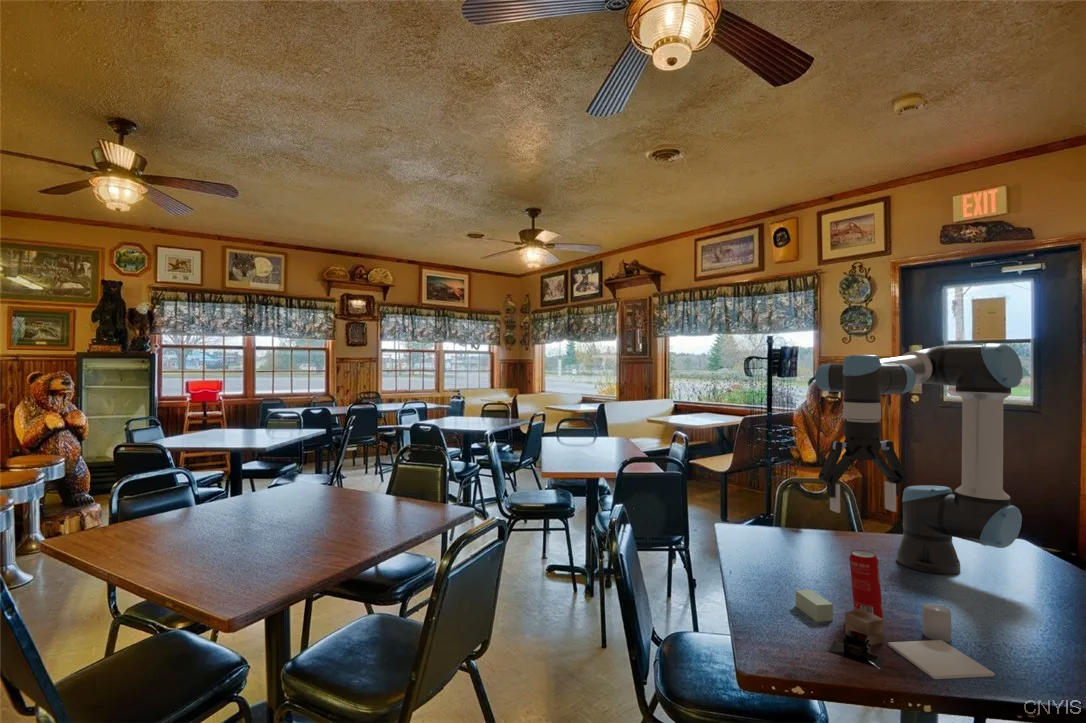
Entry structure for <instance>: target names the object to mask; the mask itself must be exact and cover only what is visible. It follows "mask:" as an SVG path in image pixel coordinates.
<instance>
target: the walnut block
mask: <svg viewBox="0 0 1086 723" xmlns="http://www.w3.org/2000/svg"><path fill="white" fill-rule="evenodd" d="M844 619H845V620H844V621H845V624H844V625H845V629H844V630H845V634H846V632H847V631H848V630H852V631H855V632H859V633H862V634H865V635H868V640H870V644H871V646H875V645H879V644H883V643H884V642H885V639H884V638H885V630H884V629H885V628H884V627H885V626H884V622H885V621H884V618H883V619H882V618H880V617H878V616H876V615H874V614H872V613H870V612H868V611H866V610H864V609H859V610H855V611H854V610H851V611H846V612H845V613H844Z"/></svg>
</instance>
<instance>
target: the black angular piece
mask: <svg viewBox="0 0 1086 723" xmlns="http://www.w3.org/2000/svg"><path fill="white" fill-rule="evenodd" d="M871 647H872V645H871V644H870V640H868V635H865V634H862V633H859V632H855V631H852V630H848V631H847V632H846V633H845V635H844V637H843V640H842V643H841V642H839V641H833V642H832V644H831V645H830V646H829V648H828V649H827V653H830V654H834V655H836V656H839V657H843V658H845V659H848V660H851V661H855V662H858V663H860V664H863V665H867V666H869V667H873V668H877V669H879V670H881V669H882V668H883V665H884V662H885V660H886V657H885V656H881V655H879V654H876V653H873V652H871Z"/></svg>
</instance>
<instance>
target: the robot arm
mask: <svg viewBox="0 0 1086 723" xmlns="http://www.w3.org/2000/svg"><path fill="white" fill-rule="evenodd" d="M1023 372H1024V371H1023V365H1022V361H1021V358H1020V357H1019V354H1018V353H1017V352H1016V350H1014V349H1013V347H1011V346H1010V345H1008V344H1004V343H990V342H988V343H987V342H986V343H974V344H971V343H970V344H953V345H952V344H949V345H948V344H946V345H939V346H932V347H928V348H927V347H926V348H924V349H918V350H911V351H908V352H905V353H903V354H902V355H901V356H900V355H899V356H894V357H893V356H892V357H884V358H880V356H879V355H877V354H856V355H855V354H852V355H851V354H849V355H845V357H844V358H843V363H833V362H831V363H826V364H825V363H823V364H821V365H820V366H818V368H817V369H816V370H815V373H814V374H815V375H814V377H815V379H814V380H815V384H816V386H817V388H818V389H820V390H821V391H824V392H830V393H834V392H835V393H843V418H844V419H846V420H844V421H843V435H844V441H838V440H832V441H831V442H830V450H829V452H828V454H827V456H826V459H825V461H824V463H823V465H822V468H821V469H820V471H819V474H818V475H817V476H818V477H817V478H818V479H819V480H820V481H824V482H825V483H826V496H827V497H829V510H830V511H832V512H834V513H837V514H838V513H839V514H841V485H840V483H838V482H839V480H840V479H841V477H843V476H844V474H845V473H846V471H847V470H848V469H849V468H850V467H851V465H852V464H854V463H855V462H856V461H858V462H859V461H861V462H863V461H865V460H866V461H872V462H873V463H874V464H875V466H876V467H877V468H878V469H879V471H880V472H881V473H882V474H883V476H884V477H885V478H886V480H885V481H884V508H885V510H888V511H890V512H895V513H896V512H897V497H898V496H899V495H900V494H899V490H900V489H899V485H901V484H903V481H907V480H908V475H907V474H906V471H905V469H904V467H903V465H902V464H901V461H900V459H899V457H898V455H897V453H896V451H895V446H894V442H893V441H892V440H887V439H882V440H880V438H881V437H882V423H880V420H881V419H882V404H881V395H897V396H898V395H900V394H906V393H908V392H910V391H911V390H912V389H913V388H914V387H915V385H919V384H927V385H929V384H930V385H931V384H932V385H938V386H949V387H950V386H954V387H955V393H956V394H957V395H958V396H959V397H960V398H961V401H962V407H961V408H962V410H961V412H962V413H961V416H962V417H961V424H962V425H961V427H962V428H961V432H962V433H961V485H960V486H958V487H957V488H955V489H954V494H953V490H952V488H951V487H948V486H942V485H929V484H928V485H922V484H921V485H911V486H910V485H909V486H906V487H905V488H904V490H903V491H902V494H903V495H902V499H901V500H902V501H901V502H902V518H903V519H902V524H903V525H902V527H903V529H902V531H903V534H902V535H903V536H902V538H901V540H900V544H899V546H898V548H897V550H896V561H897V562H898V563H899V564H900V565H903V566H905V567H907V568H910V569H913V570H916V571H919V572H924V573H929V574H934V575H935V574H936V575H956V574H959V573H960V572H961V561H960V559H959V558H958V554H957V551H956V548H955V546H954V543H953V537H954V538H957V539H960V540H965V541H969V542H973V543H976V544H980V545H982V546H984V547H986V546H988V547H993V548H997V549H1004V548H1007V547H1009V546H1011V545H1012V544H1013V543H1014V542H1015V541H1016V539H1017V538H1018V536H1019V534H1020V531H1021V528H1022V523H1023V522H1022V521H1023V519H1022V518H1023V516H1022V513H1021V510H1020V509H1019V507H1017V506H1015V505H1014V504H1013V505H1012V504H1011V496H1010V495H1009V494H1008V493H1007V492H1005V490H1004V402H1005V400H1006V398H1009V396H1010V395H1011V394H1012V388H1016V387H1019V385H1020V384H1021V383H1022V379H1023V375H1024V374H1023ZM844 450H845V451H844ZM880 450H882V454H883V455H884V457H883V456H882V454H881V453H880V452H879V451H880ZM843 451H844V452H843ZM841 454H842V455H841ZM884 458H885V459H886V460H884ZM886 461H887V462H886Z"/></svg>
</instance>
